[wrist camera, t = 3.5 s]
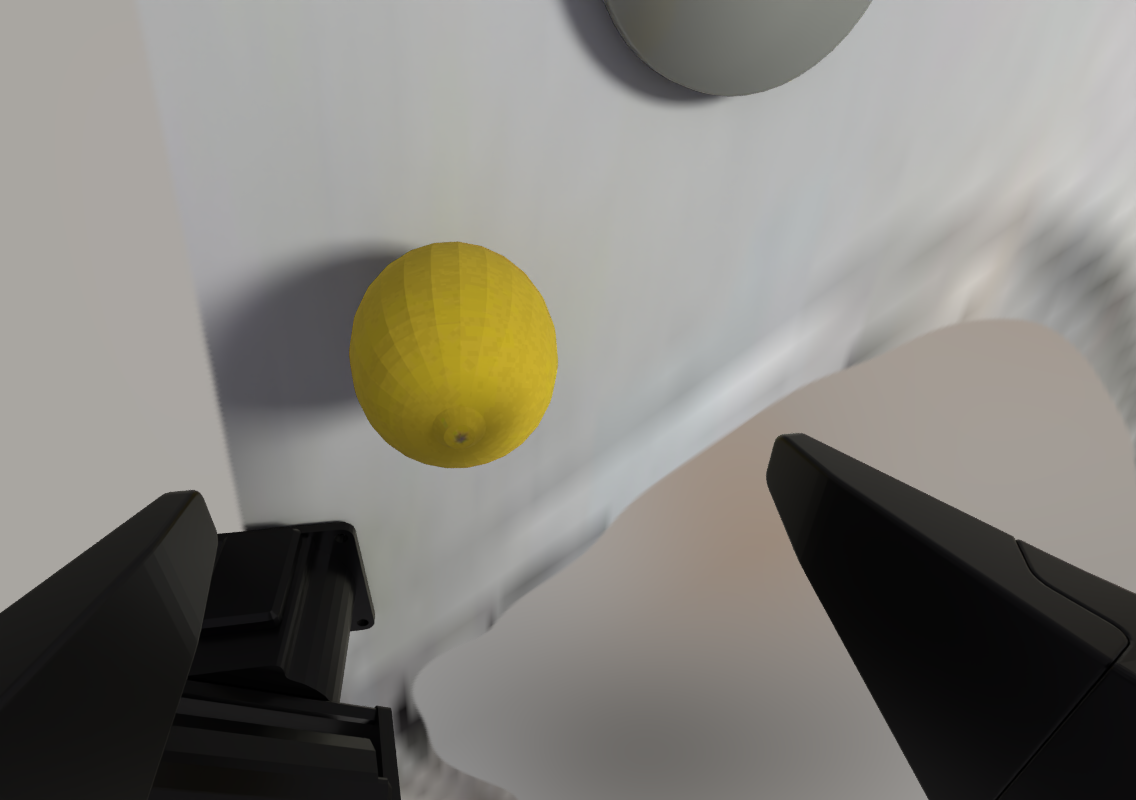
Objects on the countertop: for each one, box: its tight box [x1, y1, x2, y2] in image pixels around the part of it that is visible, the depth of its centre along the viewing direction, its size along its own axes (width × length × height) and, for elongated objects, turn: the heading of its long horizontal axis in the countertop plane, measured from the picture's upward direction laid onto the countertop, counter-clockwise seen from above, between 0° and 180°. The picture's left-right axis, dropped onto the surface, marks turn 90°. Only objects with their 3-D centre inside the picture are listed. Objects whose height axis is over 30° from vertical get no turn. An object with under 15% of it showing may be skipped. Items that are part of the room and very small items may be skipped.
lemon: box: [349, 242, 558, 468], centre depth 17 cm, size 6×6×8 cm
